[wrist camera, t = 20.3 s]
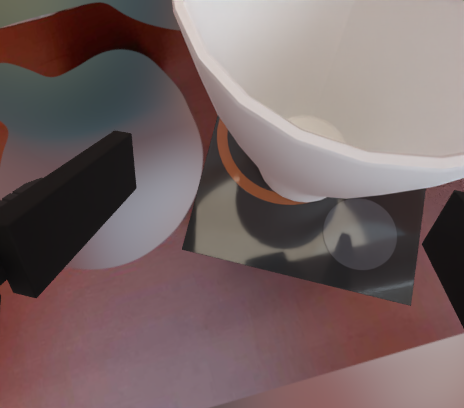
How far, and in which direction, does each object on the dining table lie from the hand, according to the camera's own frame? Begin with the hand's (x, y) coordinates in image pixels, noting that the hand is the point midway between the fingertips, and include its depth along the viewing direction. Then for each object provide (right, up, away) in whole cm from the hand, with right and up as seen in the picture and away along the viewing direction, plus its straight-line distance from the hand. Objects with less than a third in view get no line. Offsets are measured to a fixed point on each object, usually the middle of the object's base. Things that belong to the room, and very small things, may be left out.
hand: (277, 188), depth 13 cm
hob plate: (+3, +2, +7) cm, 8 cm away
